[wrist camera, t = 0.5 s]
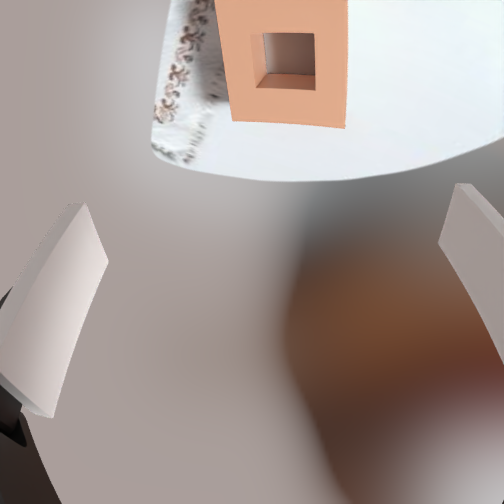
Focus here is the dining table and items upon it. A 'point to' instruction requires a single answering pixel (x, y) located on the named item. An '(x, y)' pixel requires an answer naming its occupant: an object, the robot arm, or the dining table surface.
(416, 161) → the dining table surface
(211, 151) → the dining table surface
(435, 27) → the dining table surface
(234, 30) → the terracotta holder
